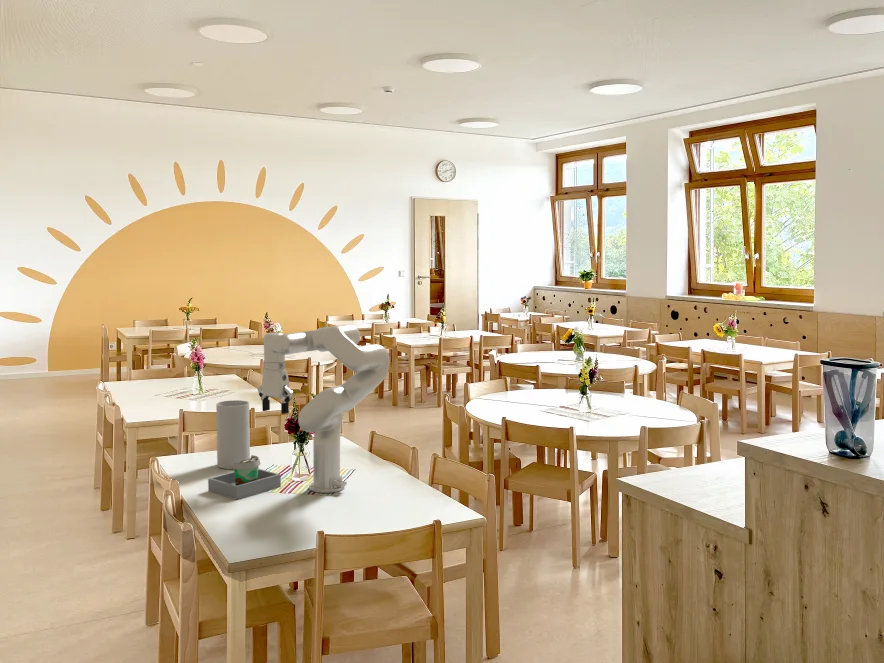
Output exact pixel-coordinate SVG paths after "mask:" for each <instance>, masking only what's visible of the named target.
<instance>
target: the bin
mask: <svg viewBox="0 0 884 663" xmlns="http://www.w3.org/2000/svg"><path fill="white" fill-rule="evenodd" d="M281 476H282V475H281V474H280V473H277V472H273V471H269V470H265V469H261V468H258V480H256V481H252V482H249V483H245V484H242V485H238V486H236V485H235V473H234V471H233V472H228V473H224V474H220V475H217V476H216V475H215V476H212V477H208V478H207V482H208V483H207V487H208V492H210V493H214V494H217V495H220V496H224V497H227V498H230V499H233V500H241V499H244V498H247V497H250V496H253V495H257V494H261V493H264V492H267V491H271V490H273V489H277V488H278V489H279V488H281V486H282V484H281V481H282V480H281V478H282V477H281Z"/></svg>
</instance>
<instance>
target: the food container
mask: <svg viewBox="0 0 884 663" xmlns="http://www.w3.org/2000/svg"><path fill="white" fill-rule="evenodd" d="M259 466H261V460H260V457H259V456H257V455H253V454H252V455H251V454H250V459H247V460H243V461H241V462H240V463H234V465H233V469H232V470H233V472H234V473H235V485H236V486H238V485H242V484H245V483H249V482H252V481H256V480H258V469H259Z"/></svg>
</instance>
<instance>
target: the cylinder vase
mask: <svg viewBox="0 0 884 663" xmlns="http://www.w3.org/2000/svg"><path fill="white" fill-rule="evenodd" d="M215 407H216V413H215V414H216V459H217V460H216V461H217V462H216V463H217V464H216V465H217V466H218V468H219V469H222V470H224V469H225V470H234V469H233V465H234V463H240V462H241V461H243V460H247V459H250V458H251V444H250V443H251V441H250V440H251V437H250V434H251V433H250V402H249V401H247V400H236V399H235V400H232V399H231V400H223V401H218V402H216V406H215Z"/></svg>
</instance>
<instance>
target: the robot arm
mask: <svg viewBox="0 0 884 663" xmlns="http://www.w3.org/2000/svg"><path fill="white" fill-rule="evenodd" d="M360 341H361V332H360V330H359V329H358V328H357V327H356V326H355V325H353V324H341V325H333V326H325V327H319V328H317V329H315V330H307V331H305V330H304V331H298V332H297V331H295V332H290V333H289V332H288V333H282V332H268V333H265V334H264V335H263V361H264V362H263V363H264V365H263V367H264V368H263V373H262V379H261V380H262V381H261V385H260V386H258V387H257V389H256V390H257V392H258V396H259V397H260V400H261V401H262V404H261V405H262V406H261V408H262V409H261V410H262V412H267V411H270V410H271V403H270V402H271V401H270V399H269V398H277V399H278V398H279V399H280V401H281V402H282V403H280V404H281V405H280V406H281V407H280V412H281V415H284V414H288V413H289V412H290V411H289V410H290V406H289V405H290V404H289V403H291V400H292V399H293V395H294V391H293V390H292V389H291V388H290V380H289V375H288V369H286V368H287V365H286V356H288V355H293V354H299V353H306V352H315V351H318V352H321V353H323V352H329V353H330V354H331V355H332V356H333V357H334V358H336V359H337V360H338V361H339V362H340V363H341V364H342V365H343V366H344V367H346V368H347V369H349V370H350V371H352V372H355V373H354V374H352V375H351V376H350V378H348V379H347V380H346V381H344V382H343V383H341V384H338V385H336V386H332V387H328V388H326V389H325V388H324V389H323V390H322V391H320V392H319V393H318V394H317V395H315V396H314V397H313V398H312V399H310V401H309V402H308V403H307V404H305V405H304V406H303V407H302V408H301V410H300V411H299V414H298V418H297V419H298V420H297V421H298V426H299V427H300V429H301V430H302V431H305V432H307V433H314V435H313V442H312V444H313V445H312V448H313V449H312V450H313V451H312V452H313V454H312V456H313V457H312V458H313V459H312V462H313V469H312V472H313V475H312V476H313V478H312V479H313V482H311V483H309V485H308V489H309V490H310V491H311V492H314V493H319V494H320V493H322V494H328V493H329V494H330V493H336V492H341V491H342V490H343V489H345V488H346V486H347V484H348V483H347V481H346V480H345V481H343V476H341V430H342V425H343V424H342V423H343V420H344V418H343V417H344V413H347V412H349V411H351V410H353V409H354V408H355V407H356V406H357V405H358V404H359V403H360V402H362V401H363V400H364V399H365V398H366V397H367V396H369V394H371V392H373V391H374V390H375V389H376V388H377V387H378V386H379V385H380V384H381V383H382V382H383V381H384V379H386V377H387V375H388V372H389V370H390V364H391V363H390V361H391V360H390V359H391V358H390V355H389V352H388V350H387V349H386V347H384V346H383V345H381V344H376V343H375V344H374V343H369V344H363V345H359V343H360ZM285 355H286V356H285Z"/></svg>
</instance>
